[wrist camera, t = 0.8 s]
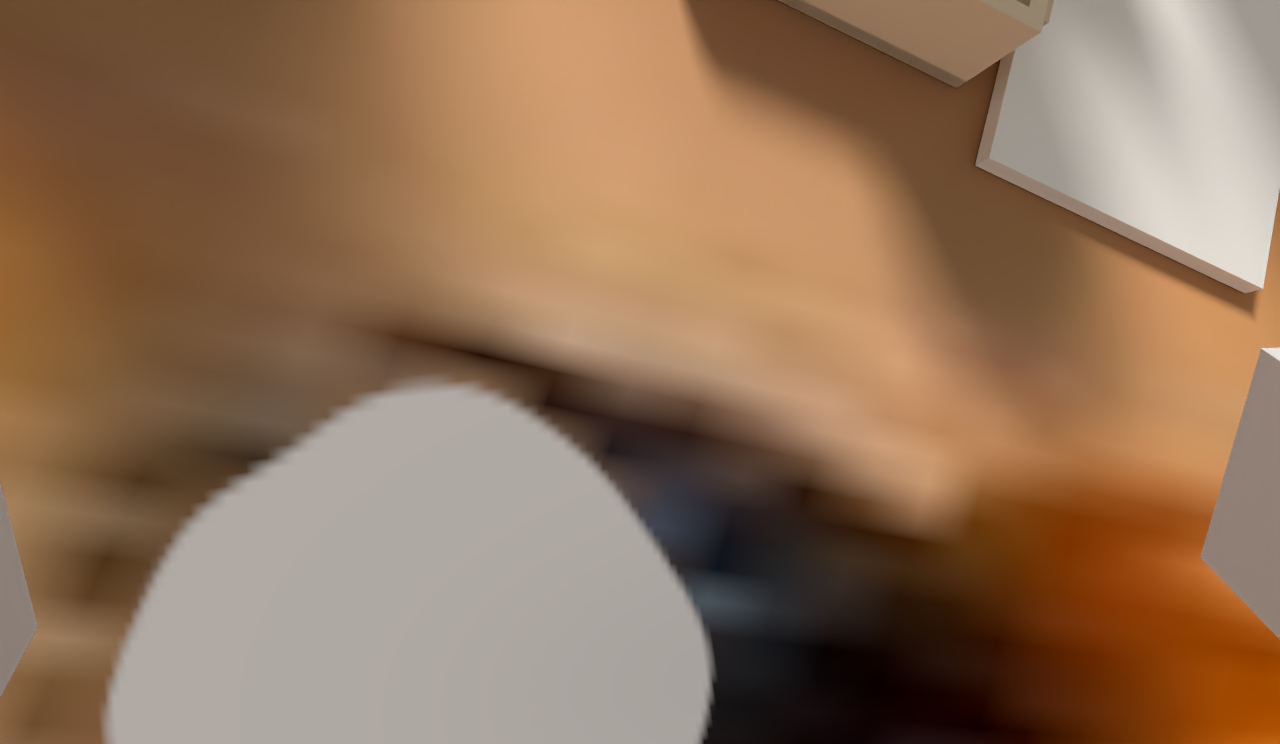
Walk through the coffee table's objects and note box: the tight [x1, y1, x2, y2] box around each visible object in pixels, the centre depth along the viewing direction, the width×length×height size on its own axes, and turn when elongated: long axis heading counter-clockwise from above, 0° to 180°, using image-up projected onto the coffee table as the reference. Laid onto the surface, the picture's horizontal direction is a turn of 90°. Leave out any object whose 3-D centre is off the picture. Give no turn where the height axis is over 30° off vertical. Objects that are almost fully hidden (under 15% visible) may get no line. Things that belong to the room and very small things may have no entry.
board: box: [975, 0, 1280, 293], centre depth 42 cm, size 12×18×1 cm, turn 162°
